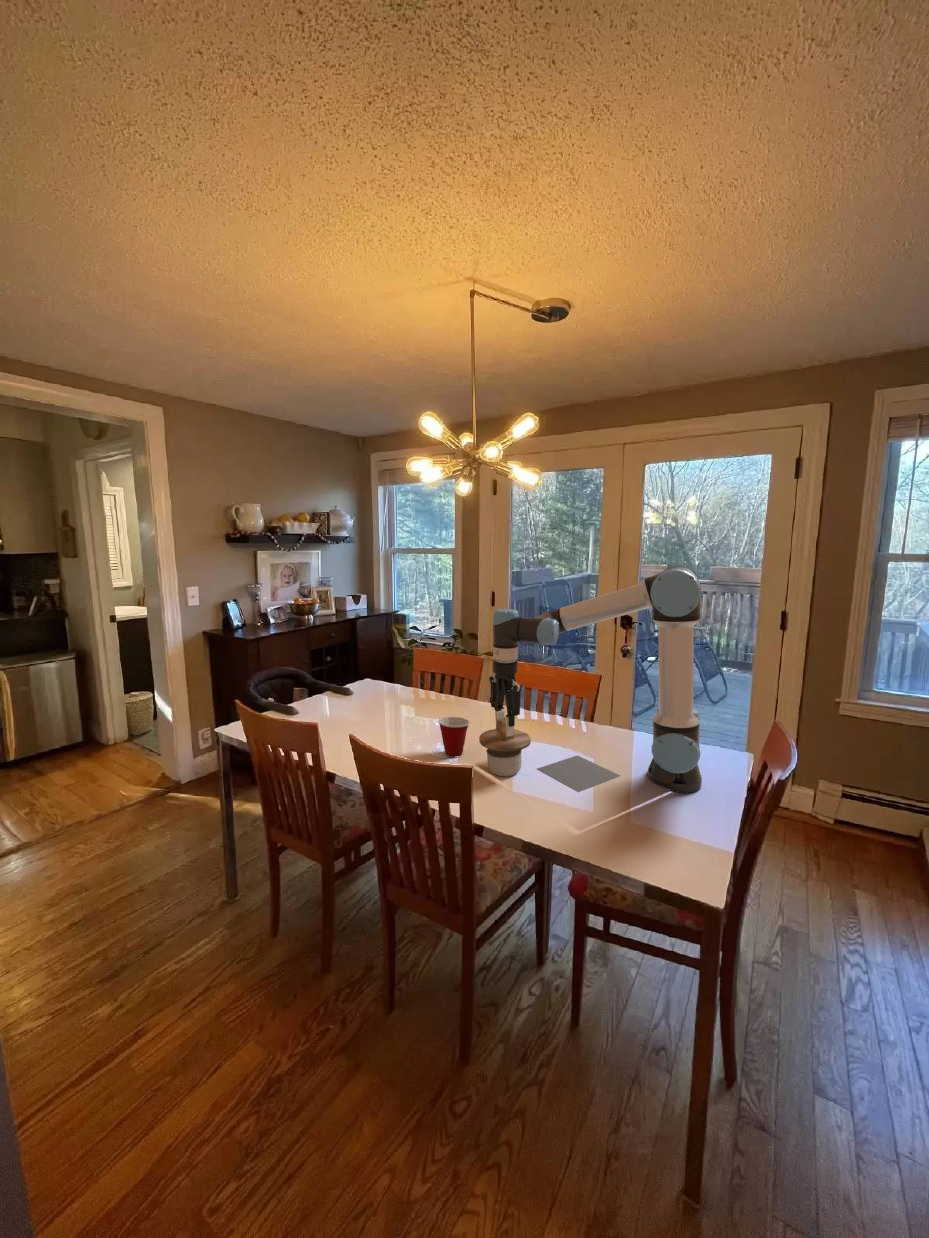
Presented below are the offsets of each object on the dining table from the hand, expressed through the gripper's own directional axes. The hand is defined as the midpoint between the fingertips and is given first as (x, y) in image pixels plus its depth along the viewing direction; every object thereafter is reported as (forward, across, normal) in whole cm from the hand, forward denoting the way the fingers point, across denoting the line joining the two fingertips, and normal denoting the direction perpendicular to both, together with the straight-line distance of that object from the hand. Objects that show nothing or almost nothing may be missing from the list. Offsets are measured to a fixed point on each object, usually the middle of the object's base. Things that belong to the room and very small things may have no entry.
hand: (504, 733), depth 161 cm
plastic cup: (+13, -20, -6) cm, 25 cm away
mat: (+13, +15, +17) cm, 26 cm away
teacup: (+13, 0, 0) cm, 13 cm away
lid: (+3, 0, 0) cm, 3 cm away
